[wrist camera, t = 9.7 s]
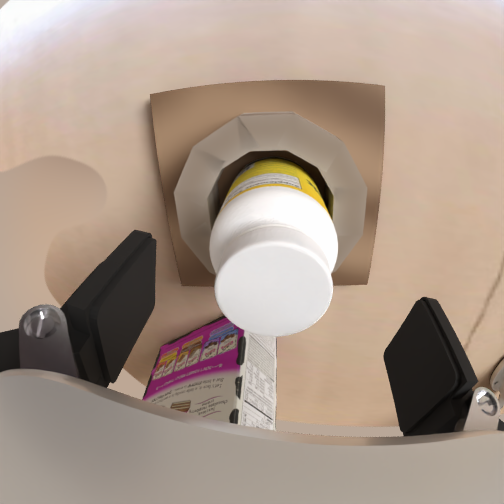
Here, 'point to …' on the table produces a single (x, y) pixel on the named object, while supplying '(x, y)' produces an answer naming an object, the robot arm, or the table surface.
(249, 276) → the supplement bottle
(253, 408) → the candy bar box
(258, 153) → the hub block
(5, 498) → the robot arm
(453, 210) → the table surface
